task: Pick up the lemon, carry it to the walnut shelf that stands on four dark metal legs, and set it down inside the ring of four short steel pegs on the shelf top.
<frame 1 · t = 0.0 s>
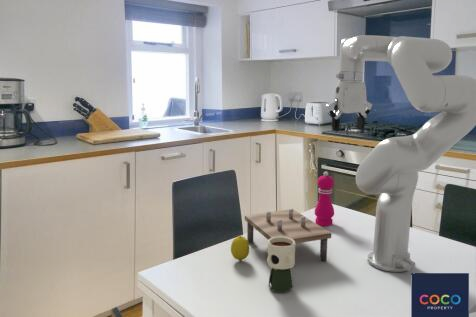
hand: (348, 130, 140), 37 cm above the table, tool pointing down, fingers open, 9 cm apart
character mug: (280, 288, 111), on the table
pepper mill: (323, 224, 159), on the table
peg shelf: (284, 250, 134), on the table
lemon: (240, 261, 127), on the table
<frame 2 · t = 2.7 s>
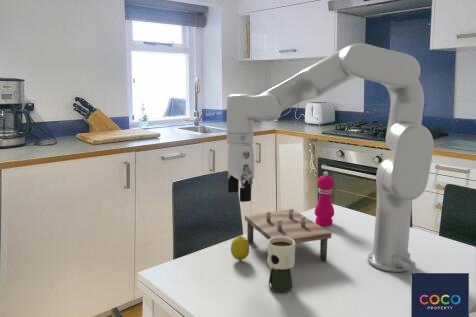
hand: (239, 196, 123), 20 cm above the table, tool pointing down, fingers open, 9 cm apart
nothing on the table moved.
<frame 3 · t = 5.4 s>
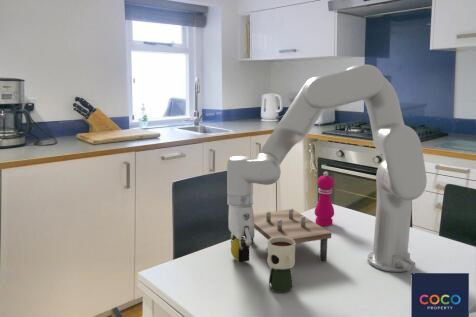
hand: (240, 256, 127), 2 cm above the table, tool pointing down, fingers closed on lemon, 5 cm apart
lemon: (240, 261, 127), on the table, touching gripper
everything else where it was.
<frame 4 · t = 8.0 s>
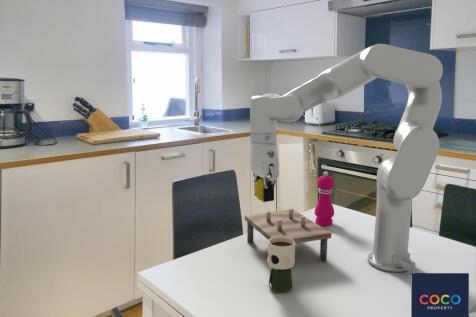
hand: (264, 197, 127), 19 cm above the table, tool pointing down, fingers closed on lemon, 5 cm apart
lemon: (264, 203, 127), point 17 cm above the table, touching gripper
everything else where it was.
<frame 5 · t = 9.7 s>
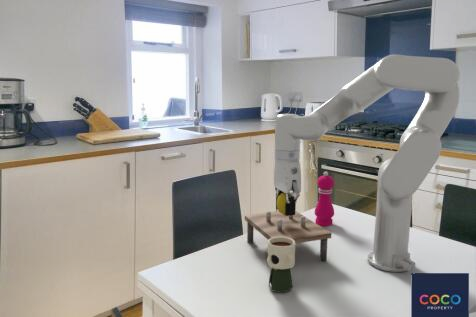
hand: (285, 211, 132), 13 cm above the table, tool pointing down, fingers closed on lemon, 5 cm apart
lemon: (285, 216, 132), point 11 cm above the table, touching gripper
everything else where it was.
when the fingers open (11 cm above the table, at t = 10.9 s): lemon stays where it is, resting on peg shelf.
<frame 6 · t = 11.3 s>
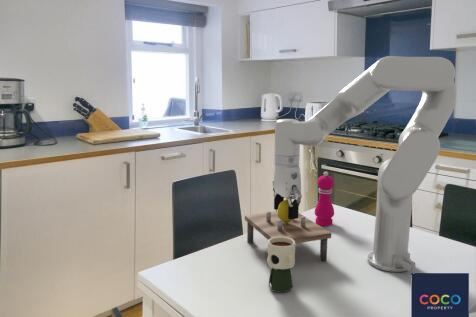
hand: (285, 213, 132), 12 cm above the table, tool pointing down, fingers open, 9 cm apart
lemon: (286, 224, 132), point 9 cm above the table, touching peg shelf
everything else where it was.
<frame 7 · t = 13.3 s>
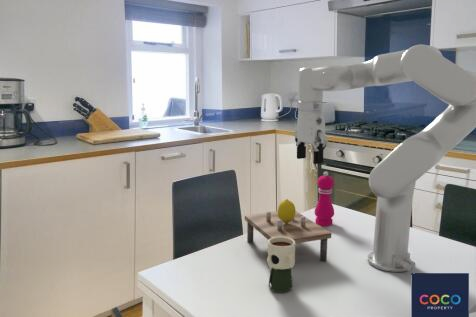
hand: (309, 160, 136), 28 cm above the table, tool pointing down, fingers open, 9 cm apart
nothing on the table moved.
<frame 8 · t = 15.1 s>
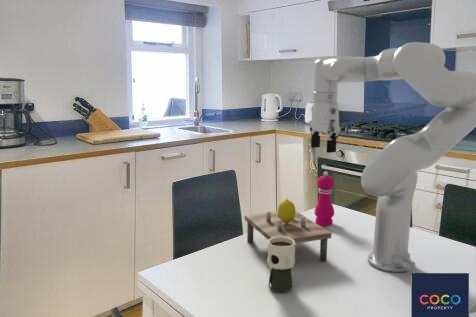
hand: (323, 149, 141), 30 cm above the table, tool pointing down, fingers open, 9 cm apart
nothing on the table moved.
at the end: lemon inside the target area on the peg shelf (0.3 cm from its centre), point 8.8 cm above the peg shelf's base; the gripper is holding nothing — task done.
